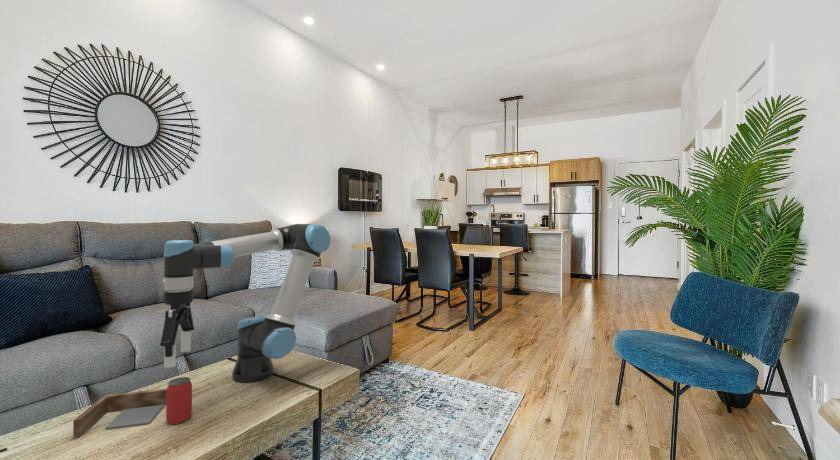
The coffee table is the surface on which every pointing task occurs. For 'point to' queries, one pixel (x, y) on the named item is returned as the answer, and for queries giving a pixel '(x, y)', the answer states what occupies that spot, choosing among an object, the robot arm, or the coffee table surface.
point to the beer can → (179, 400)
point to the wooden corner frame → (116, 407)
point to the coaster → (135, 417)
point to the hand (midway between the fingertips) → (178, 358)
